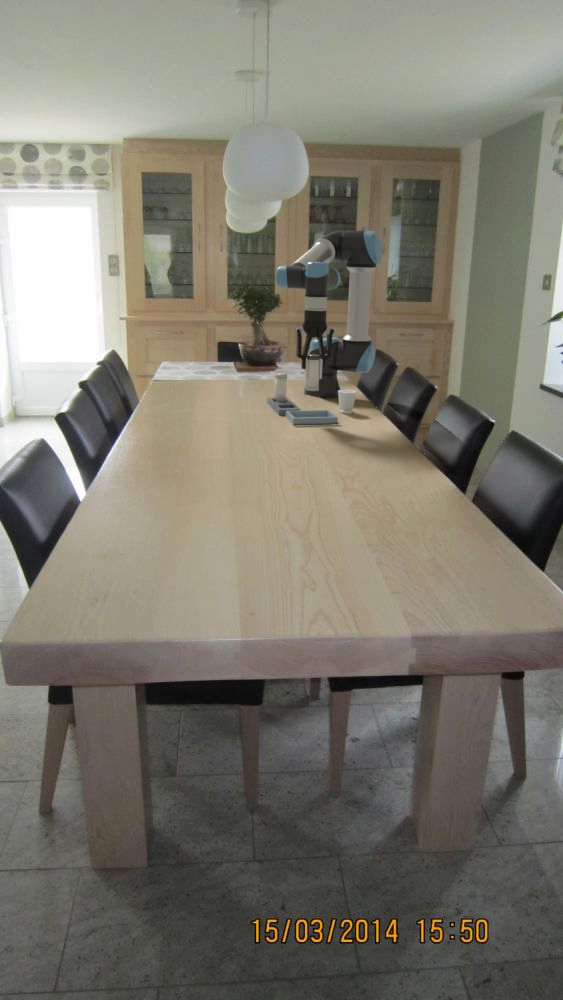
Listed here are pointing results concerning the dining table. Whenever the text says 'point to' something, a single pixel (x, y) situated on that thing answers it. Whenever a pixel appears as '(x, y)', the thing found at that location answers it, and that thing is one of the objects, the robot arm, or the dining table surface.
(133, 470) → the dining table surface
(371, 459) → the dining table surface
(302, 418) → the parts tray
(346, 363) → the robot arm
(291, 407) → the fuse strip
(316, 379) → the cylinder
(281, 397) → the cylinder
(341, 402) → the cup
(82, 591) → the dining table surface
